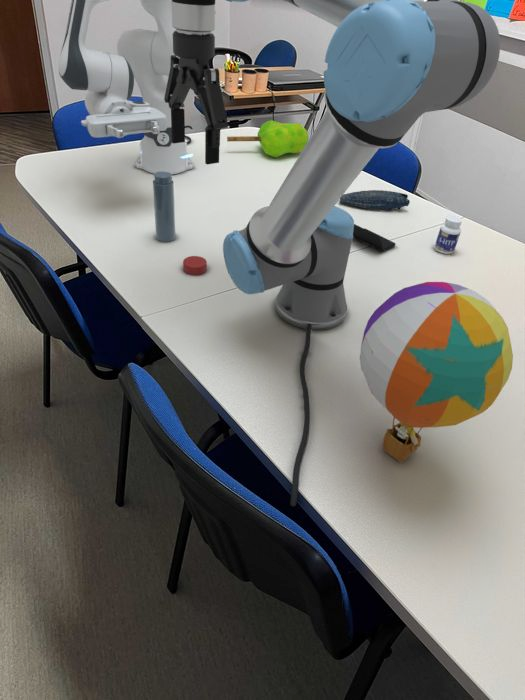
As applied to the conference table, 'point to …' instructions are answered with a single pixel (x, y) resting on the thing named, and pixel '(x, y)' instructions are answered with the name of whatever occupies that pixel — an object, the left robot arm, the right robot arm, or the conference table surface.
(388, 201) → the fish model
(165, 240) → the blue-grey tall cylinder
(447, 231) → the pill bottle
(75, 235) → the conference table surface
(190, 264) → the lid
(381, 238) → the handheld gaming console
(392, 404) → the toy
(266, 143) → the decorative tree
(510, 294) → the conference table surface
